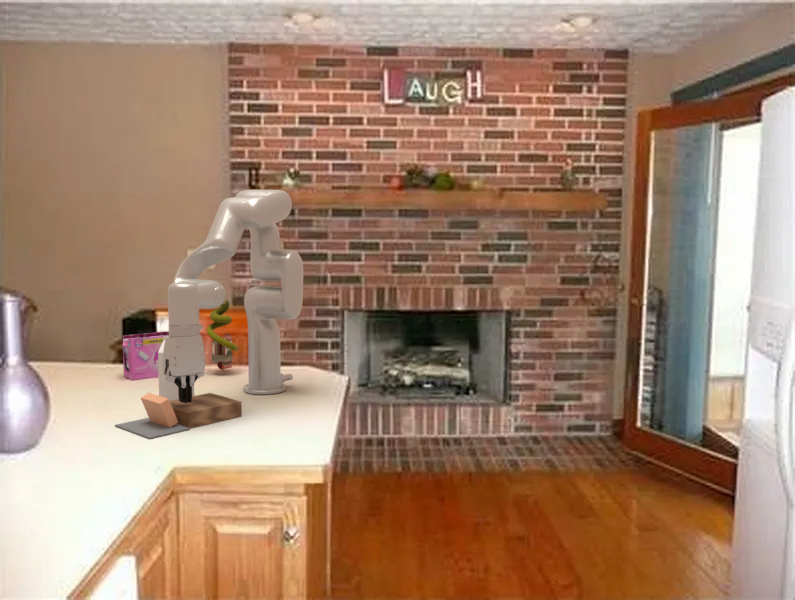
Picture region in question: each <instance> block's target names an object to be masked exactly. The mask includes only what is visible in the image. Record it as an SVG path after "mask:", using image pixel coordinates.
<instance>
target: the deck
mask: <svg viewBox="0 0 795 600" xmlns="http://www.w3.org/2000/svg"><path fill="white" fill-rule="evenodd" d="M170 403H171V406H172V408H173V411H174V413H175V415H176V418H177V420H178V423H176V424H179V425H182V426H185V427H188V428H190V429H194V428H198V427H203V426H206V425H210V424H215V423H218V422H223V421H227V420H231V419H236V418H240V417H242V415H243V413H242V411H243V409H242V407H243V405H242V404H243V403H242V401H241V400H238V399H234V398H230V397H226V396H222V395H219V394H215V393H213V392H208V393H203V394H198V395H194V396H192V402H188V403H183V402H180V401H179V399H177V400H172V401H170Z"/></svg>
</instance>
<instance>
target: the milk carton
mask: <svg viewBox="0 0 795 600" xmlns="http://www.w3.org/2000/svg"><path fill="white" fill-rule="evenodd" d="M166 337H169V336H164V340H163V343H162V345H161V347H160V349H159V351H158V371H159V377H158V395H159V396H162V397H165V398H169V401H172V400H177V399H179V393H178V387H177V386H176V384H175V383H173V382H167V381H165V378H166V375H165V374H163V350H164V344H165V339H166ZM192 396H195V385H194V386H193V387H192Z"/></svg>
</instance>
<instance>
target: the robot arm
mask: <svg viewBox="0 0 795 600" xmlns="http://www.w3.org/2000/svg"><path fill="white" fill-rule="evenodd" d="M292 206H293V203H292V198H291V196H290V195H289V193H288V192H286V191H284V190H282V189H244V190H241V191H239V192H238V193H236V195H235V196H234V197H233V196H232V197H227V198H225V199H224V200H223V201H221V203H220V205H219V207H218V209H217V211H216V214H215V216H214V219H213V222H212V224H211V226H210V229H209V231H208V234H207V236H206V239H205V241H204V242H203V243H201V244H200V245H199V246H198V247H196V248H195V249H194V250H193V251H192V252H191V253H190V254H188V256H186V257H185V258H184V260H182V262H181V263H180V265H179V267H178V268H177V271H176V273H175V276H174V279H173V280H172V281H173V282H172V283H170V284H169V285H168V287H167V288H168V289H167V308H168V310H167V311H168V312H167V314H168V316H167V317H168V331H169V337H166V339H165V344H164V350H163V374H165V375H166V378H165V381H167V382H173V383H175V384H176V386H177V387H178V393H179V401H180V402H183V403H188V402H192V387H193V386H194V387H195V383H196V381H197V380H198V379H200V378H202V377H204V375H205V369H206V355H205V347H204V341H203V336H202V335H201V334H200V333H201V332H200V331H202V330H203V328H204V326H203V324H200V309H201V310H202V309H204V310H205V309H207V310H208V309H209V310H210V309H217V308H218V307H220V306H221V304H222V303H223V301H224V299H225V300H226V290H225V287H224V286H223V284H222V283H220V282H219V281H216V280H211V279H200V278H199V279H198V277H199V276H200V275H201V274H202V273H203V272H204V271H205V270H207V269H208V268H210V267H212V266H215V265H217V264H219V263H222V262H224V261H226V260H229V259H230V258H232V257H233V256H234V255H235V254H236V252H237V249H238V247H239V245H240V241H241V239H242V236H243V234H244V233H245V232H244V231H245V229H248V230H249V234H250V254H249V255H250V263H249V265H250V266H249V267H250V274H251V276H252V278H253V279H255V280H257V281H261V282H273V283H275V282H276V283H281V286H274V285H255V286H252V287H250V288H249V289H248V290H247V291H246V292H245V295H244V298H243V304H244V310H245V315H246V321H247V349H248V350H247V354H248V355H247V356H248V359H247V360H248V367H247V368H248V384H245V385H244V386H243V388H242V389H243V392H244V393H247V394H250V395H273V394H279V393H283V392H285V391H286V390H287V389H286V388H287V387H286V384H285V382H287V381H292V380H293V378H294V376H293V374H292V373H287V374H284V373H281V371H282V369H281V366H282V365H281V330H280V328H279V324H278V323H277V321H276V319H277V320H294V319H297V318H298V317H299V316H300V315H301V312H302V310H303V309H302V308H303V300H304V299H303V297H304V264H303V259H302V257H301V255H300V254H299V253H298V252H297V251H295V250H292V249H291V250H290V249H281V245H280V243H281V241H280V231H279V228H278V226H277V224H276V223H279V222H281V221H283V220H286V219H287V217H288V216H290V213H291V212H292V209H293V208H292Z"/></svg>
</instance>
